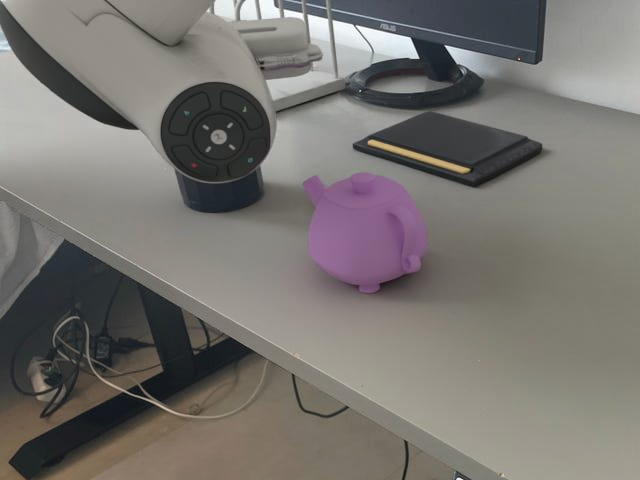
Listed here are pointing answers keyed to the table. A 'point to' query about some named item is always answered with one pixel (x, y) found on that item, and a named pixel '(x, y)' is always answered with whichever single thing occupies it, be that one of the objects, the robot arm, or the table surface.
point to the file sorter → (305, 85)
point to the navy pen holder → (221, 192)
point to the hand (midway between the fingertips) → (189, 33)
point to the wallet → (450, 147)
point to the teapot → (365, 230)
